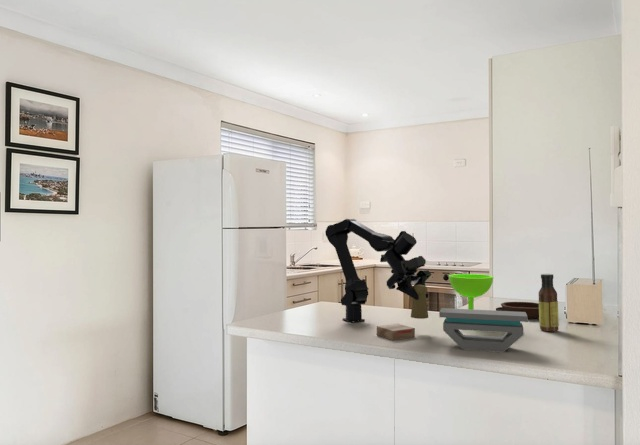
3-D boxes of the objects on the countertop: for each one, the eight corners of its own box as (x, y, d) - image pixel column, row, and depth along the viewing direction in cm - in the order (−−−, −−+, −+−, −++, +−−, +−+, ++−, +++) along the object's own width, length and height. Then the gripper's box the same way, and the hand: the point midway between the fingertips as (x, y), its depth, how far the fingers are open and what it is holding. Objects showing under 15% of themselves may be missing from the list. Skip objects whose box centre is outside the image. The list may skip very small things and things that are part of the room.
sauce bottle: (557, 329, 186) (557, 273, 186) (559, 333, 180) (559, 275, 180) (537, 328, 188) (537, 272, 188) (539, 331, 182) (539, 274, 182)
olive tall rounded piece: (426, 319, 176) (426, 286, 175) (408, 317, 178) (409, 285, 178) (430, 316, 181) (430, 284, 181) (412, 314, 183) (412, 283, 183)
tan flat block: (376, 335, 177) (376, 326, 177) (397, 332, 181) (397, 323, 181) (393, 340, 169) (393, 331, 169) (415, 337, 173) (415, 328, 173)
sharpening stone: (439, 347, 159) (439, 312, 159) (441, 342, 167) (441, 308, 167) (527, 353, 152) (527, 316, 152) (525, 347, 159) (525, 312, 159)
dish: (556, 322, 200) (556, 309, 200) (495, 319, 207) (495, 306, 207) (551, 314, 217) (551, 302, 217) (495, 311, 223) (495, 300, 223)
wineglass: (440, 324, 195) (440, 276, 195) (461, 318, 207) (461, 273, 207) (481, 330, 184) (481, 279, 184) (500, 323, 196) (500, 275, 196)
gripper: (393, 249, 176) (419, 285, 168) (427, 247, 188) (453, 281, 180) (375, 270, 182) (400, 306, 174) (409, 267, 194) (433, 301, 186)
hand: (422, 298), depth 178 cm, fingers closed on olive tall rounded piece, 5 cm apart
